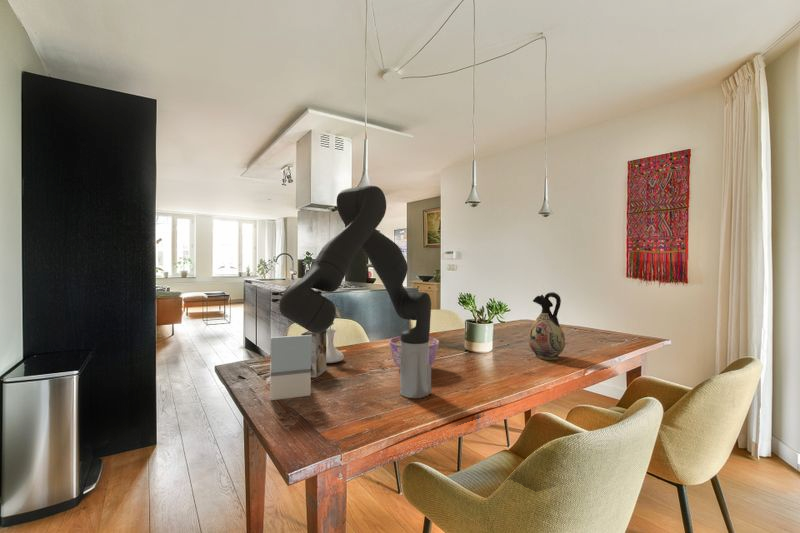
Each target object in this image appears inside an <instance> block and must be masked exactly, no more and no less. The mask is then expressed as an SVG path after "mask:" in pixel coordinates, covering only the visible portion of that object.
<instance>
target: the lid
mask: <svg viewBox="0 0 800 533" xmlns="http://www.w3.org/2000/svg"><path fill="white" fill-rule="evenodd" d="M311 345H312V335H287V336H271V337H270V362H271V372H279V371H289V370H300V369H310V368H311Z"/></svg>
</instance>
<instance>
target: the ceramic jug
mask: <svg viewBox="0 0 800 533" xmlns="http://www.w3.org/2000/svg"><path fill="white" fill-rule="evenodd" d="M550 298H554V299H555V302H556V303H555V307H554V310H553V313H552V311H551V308H552V307H553V306H554V305H553V304H554V303H553V302H552V301H551V300H550ZM532 302H533V303H535V304H538V305H539V306H541V312H540V313H539V315H538V316H537V317H536V320H535V321H534V322H533V324H532V326H531V327H530V330H529V334H528V344H529V347H530V349H531V350H532V352H533V353H534V354H535V358H536V359H541V360H546V361H547V360H549V361H554V360H555V361H556V360H559V355H560V354H562V352H563V351H564V349H565V347H566V337H565V333H564V331H563V329H562V327H561V325H560V323H559V319H558V314H559V310H560V307H561V304H562V299H561V296H560V295H559V294H558V293H556V292H553V291H552V292H548V293H546V294H545V295H543V294H541V295H537V296H536V297H534V298H533V300H532Z"/></svg>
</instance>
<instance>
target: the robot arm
mask: <svg viewBox="0 0 800 533" xmlns="http://www.w3.org/2000/svg"><path fill="white" fill-rule="evenodd" d="M336 208H337V211H338V215H339V217H340V219H341V221H342V222H343V224H344V225H345V227H344V228H343V229H342V230H341V231H340V232H338V233H337V234H336V235H334V236H333V237H332V238H331V239H329V240H328V241H327V243H325V245H323V247H322V249H321V250H320V251H319V252H318V254H317V256H316V258H315V259H314V262H313V263H312V265H311V266H310V268H309V269H308V270H307V272H306V273H304V275H303V276H302V277H301V278H300V279H299V280H298V281H296V282H294V283H292V284H290V285H288V286H287V287H286V289H284V290H278V291H271V302H272V303H276V302H277V303H278V302H279V304H278V305H279V306H278V307H279V313H280V315H282V316H284V318H286V319H287V320H290V322H293V323H294V324H296V325H298V326H300V327H302V328H303V329H305V330H306V331H310V332H313V333H321V332H323V331H325V330H327V329H328V328H330V326H333V325H332V323H334V321H335V318H336V316H337V314H336V305H335V303H334V302H333V301H331V300H330V299H329V298H328V297H326V296H324V295H322V293H323V292H325V293H332V292H336V291H337V290H338V289H339V288H340V286H341V284H342V283H343V280H344V278H345V276H346V274H347V272H348V271H349V268H350V266H351V265H352V263H353V261H354V259H355V257H356V256H357V254H358V253H359V251H360V250H361V249H362V250H363V252H364V253H365V255H366V258H368V260H369V261H370V264H371V266H372V268H373V269H374V271H375V273H376V274H377V276H378V278H379V279H380V280H381V283H382V284H383V287H384V288H385V290H386V292H387V295H388V296H389V297H390V298H389V299H390V300H391V303H392V305H393V308H394V310H395V312H396V314H397V315H398V317H399V318H400V319H403V320H408V321H416V322H415V326H414V327H412V328H410V329H406V330H403V331H401V333H400V336H401V360H400V367H399V369H400V370H399V372H400V374H399V375H400V376H399V377H400V380H399V388H400V391H399V392H400V395H401V396H402V397H404V398H409V399H422V397H423V398H426V397H427V396H430V395H429V394H431V395H432V366H431V365H430V364H429V337H430V331H431V316H432V314H431V313H432V299H431V296H430V294H429V293H427V292H425V291H424V292H423V291H409V290H406V289H405V287H404V285H403V284H404V281H405V280H406V276H407V274H408V271H409V270H408V262H407V260H406V258H405V255H404V253H403V252H402V249H401V248H400V247H399V245H398V244H397V243H395V242H394V241H393V240H392V239H391V238H389V237H387V236H386V235H385V234H383V232H380V231H379V230H377V228H378V226H379V225H380V224H381V222H382V221H383V218H384V217H385V214H386V212H387V199H386V196H385V193H384V191H383V189H381V188H380V187H378V186H376V185H365V186H359V187H358V186H357V187H350V188H345V189H343V190H341V191H340V192H339V193H338V194H337V196H336ZM315 289H316V290H315ZM425 396H426V397H425Z"/></svg>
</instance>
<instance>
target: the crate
mask: <svg viewBox="0 0 800 533" xmlns="http://www.w3.org/2000/svg"><path fill="white" fill-rule="evenodd" d="M269 362H270V363H269V374H270V375H269V376H270V378H269V392H270V393H269V396H270V401H274V400H275V401H276V400H284V399H292V398H301V397H311V389H312V388H311V386H312V385H311V384H312V383H311V378H312V377H311V368H310V369H300V370H289V371H279V372H271V361H269Z"/></svg>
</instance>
